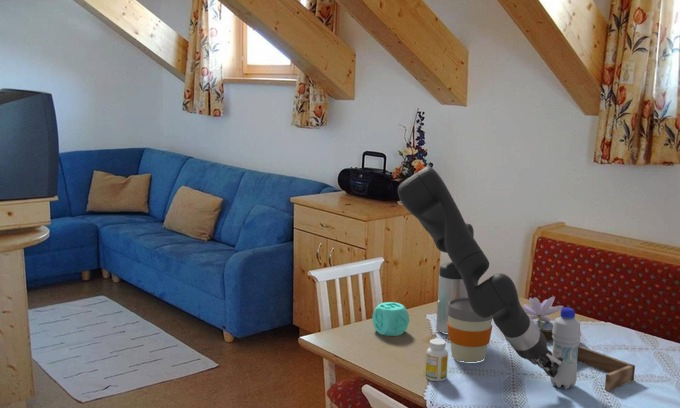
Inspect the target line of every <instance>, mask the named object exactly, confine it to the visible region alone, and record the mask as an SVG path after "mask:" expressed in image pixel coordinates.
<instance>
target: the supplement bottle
mask: <svg viewBox="0 0 680 408" xmlns="http://www.w3.org/2000/svg"><path fill="white" fill-rule="evenodd" d="M446 347H447V342H446V341H445V340H444V339H441V338H432V339H430V340H429V347H428V349H426V359H425V374H424V375H425V378H426V379H427V380H429V381H433V382H442V381H444V380H446V379H447V374H448V360H449V359H448V358H449V354H448V353H449V352H448V350H447V349H446Z"/></svg>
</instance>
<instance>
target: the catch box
mask: <svg viewBox="0 0 680 408" xmlns="http://www.w3.org/2000/svg"><path fill="white" fill-rule="evenodd" d="M577 362H579V363H581V364H584V365H587V366H590V367H593V368H595V369H597V370H600V371H603V372H606V374H605V382H604V390H605V391H607V392H610V391H612V390H614V389H616V388H619V387H621V386H625V385H627V384H629V383H631V382H634V380H635V371H636V365H634V364H631V363H629V362H626V361H623V360H620V359H617V358H616V357H615V358H614V357H612V356H609V355H606V354H603V353H600V352H598V351H595V350H592V349H589V348H587V347H584V346H581V345H579V344H578V355H577Z"/></svg>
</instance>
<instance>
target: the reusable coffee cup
mask: <svg viewBox="0 0 680 408" xmlns="http://www.w3.org/2000/svg"><path fill="white" fill-rule="evenodd" d="M447 314H448V318H449V321H448V322H447V324H448V336H447V337H448V340H449V342H450V351H451V352H450V353H451V358H452V357H453V358H454V359H456V360H458V361H457V362H459V361H464V362H477V361H481V360H483V359H484V358H485V359H486V353H487V350H488V349H487V348H488V344H489V343H490V342H491V341H490V340H491V338H492V330H493V315H492V316H490V317H487V318H483V317H480V316H478V315H477V314H476V313H475V312H474V311H473V309H472V308H471V305H470V302H469V299H468V298H457V299H453V300H450V301H449V302H448V308H447ZM453 358H452V359H453ZM454 359H453V360H454ZM456 360H455V361H456Z"/></svg>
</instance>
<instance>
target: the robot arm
mask: <svg viewBox="0 0 680 408" xmlns="http://www.w3.org/2000/svg"><path fill="white" fill-rule="evenodd" d="M397 195H398V198H399V200H400V202H401V204H402V205H403V206H404V208H405V209H406V210H407V211H408V212H409V213H410V214H411V215H412V216H414V217H415V218H416V219H417V220H418V221H419V223H420V224H421V226H422V228H423V229H424V230H425V231H426V232H427V233H428V234H429V236H430V237H431V238H432V240H433V243H434V245H435V247H436V248H437V249H438V251H440V252H441V253H446V254H447V255H448V258H449V259H450V261H448V262H444V263H443V264H441V265H439V271H438V272H439V273H438V275H439V276H438V296H437V298H438V300H437V302H436V326H435V328H436V329H435V331H441V332H444V333H448V324H447V322H448V321H449V318H448V314H447V308H448V302H449V301H450V300H453V299H457V298H468V299H469V302H470V305H471V308H472V309H473V311H474V312H475V313H476V314H477V315H478V316H480V317H483V318H487V317H490V316H492V315H493V319H492V322H494V324H495V326H496V327H497V328H498V329H499V331H500V332H501V333H502V334H503V336H504V338H505V339H506V341H507V343H508V344H509V345H510V346H511V348H513V350H514V351H515V352H516V354H517V355H518V356H519V357H520V358H522V359H524V360H528V361H529V362H530V363H532V364H533V365H534V366H538V368H540V369H541V370H543V371H544V372H545V374H546V375H547V377H550V376H551V377H553V378H554V377H555V376H556V374H557V372H558V370H557V369H558V368H559V366H560V365H561V363H562V361H563V359H562V358H561V357H556V358H555V357H553V356H552V352H553V351H551V350H549V349H548V341H547V340H546V337H545V336H544V335H543V333H542V332H541V331H540V329H541V328H539V327H538V325H537V324H536V322H535V321H534V319H533V320H532V319H531V318H530V317H529V316H530V315H529V314H527V313H526V312H525V311H524V310H523V308H522V307H523V306H522V304H521V303H520V299H519V295H518V290H517V287H516V284H515V282H514V281H513V279H512V278H511V277H510V276H509V275H506V274H505V273H502V272H501V273H499V272H498V273H496V274H493V275H492V276H490V277H489V278H487V279H486V280H484V281H482V282H480V283H479V280H481V277H482V276H483V275H484V274H485V273H486V272H487V271H488V269H489V268H490V261H489V259H488V257H487V256H486V254H485V253H484V251H483V250H482V249H481V247H480V245H479V244H478V242H477V241H476V239H475V238H474V235H475V233H474V232H475V231H474V227H473V226H472V224H470V223H466V221H465V220H464V218H463V215H462V213H461V212H460V210H459V207H458V206H457V204H456V202H455V199H454V198H453V197H452V194H451V193H450V191H449V189H448V187H447V186H446V184H445V182H444V180H443V179H442V177H441V176H440V175H439V174H438V172H437V171H436V170H435V169H434V168H433V167H431V166H426V167H423V168H422V169H420V170H418V171H417V172H416V173H414V174H413V175H411V176H409V177H407V179H405V180H404V181H402V182H401V183H400V184H399V185H398V187H397ZM528 315H529V316H528Z"/></svg>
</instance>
